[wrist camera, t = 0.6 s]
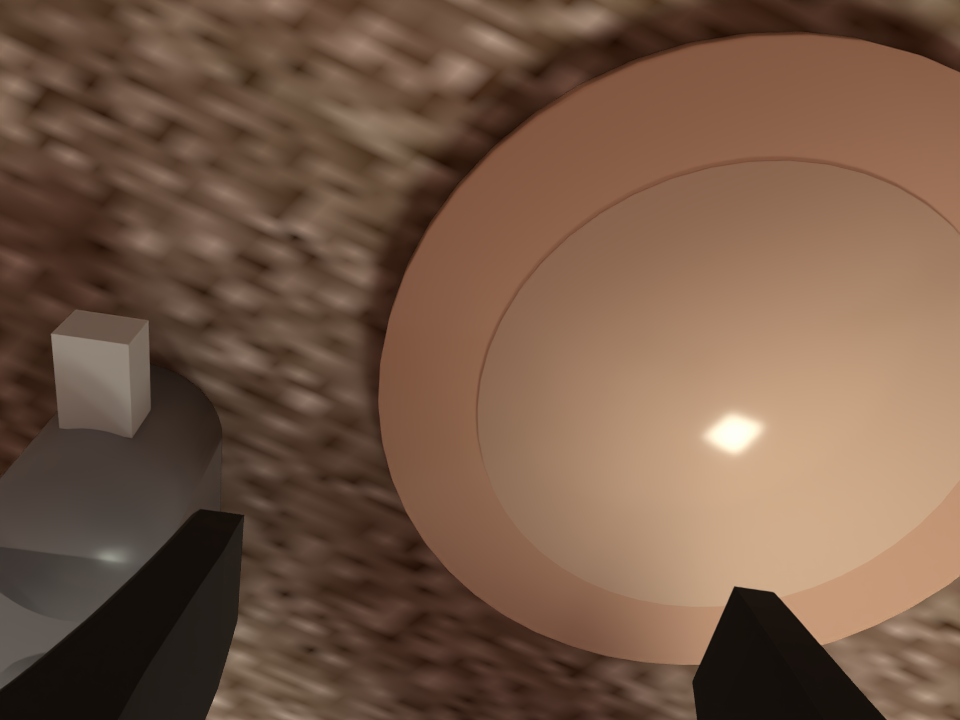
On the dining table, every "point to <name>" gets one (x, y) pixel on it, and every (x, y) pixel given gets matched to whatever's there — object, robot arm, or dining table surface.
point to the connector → (98, 482)
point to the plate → (694, 348)
